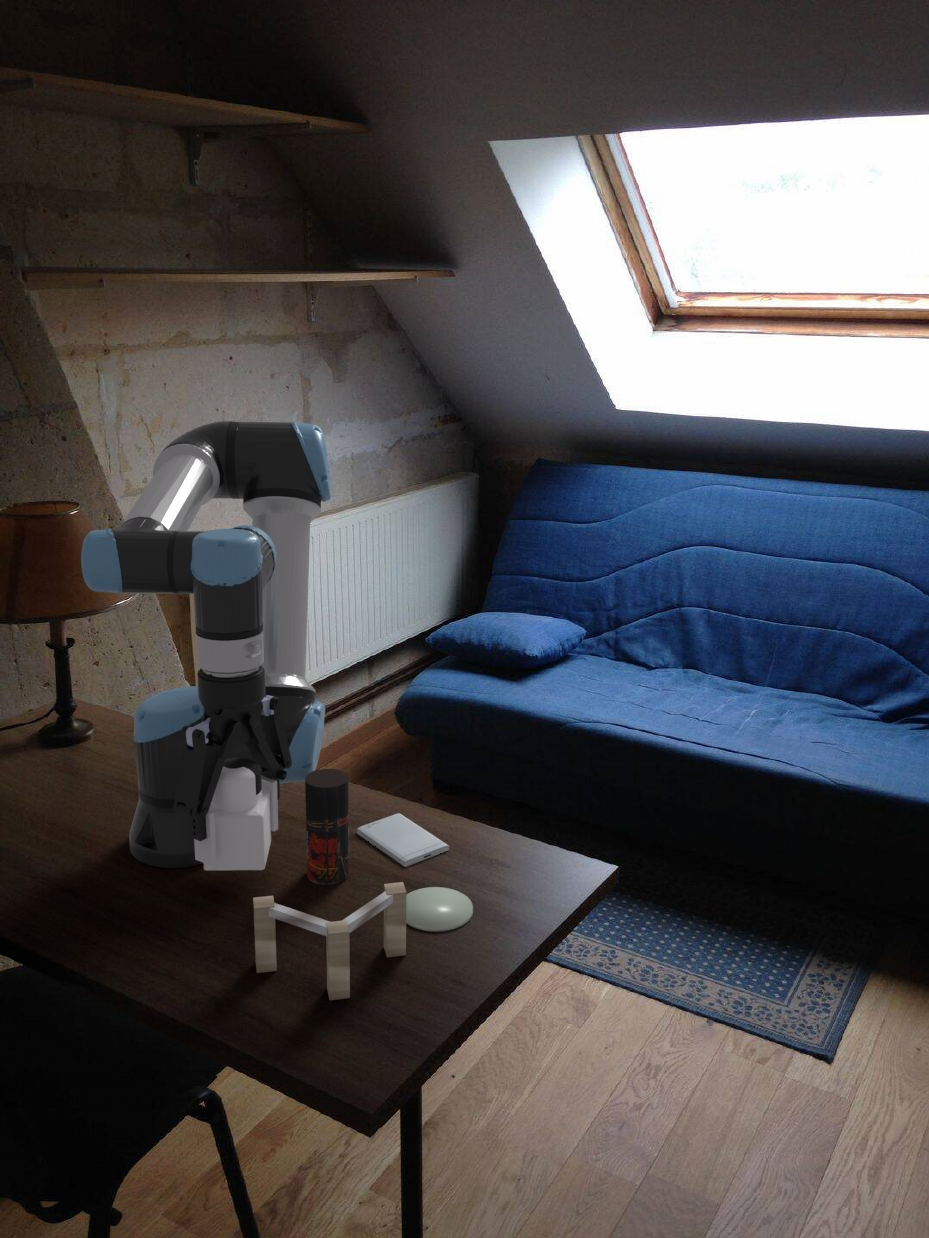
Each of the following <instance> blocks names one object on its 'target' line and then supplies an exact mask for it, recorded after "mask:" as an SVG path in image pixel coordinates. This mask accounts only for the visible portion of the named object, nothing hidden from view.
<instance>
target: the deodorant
mask: <svg viewBox="0 0 929 1238" xmlns="http://www.w3.org/2000/svg"><path fill="white" fill-rule="evenodd" d="M349 785H350V784H349V775H348V774H347V772H345V771H342V770H340V769H335V768H321V769H317V770H315V771H313V772H311V773H309V774H308V775H307V776H306V777H305V781H304V786H305V787H304V788H305V789H304V790H305V791H304V792H305V793H304V794H305V796H304V797H305V798H304V799H305V831H306V832H305V835H306V871H307V872H306V875H307V879H308V881H310V882H311V883H313V884H315V885H319V886H334V885H338V884H341V883H344V882H345V881H346V880H348V878H349V876H350V813H349V812H350V808H349V807H350V803H349V801H350V799H349V798H350V796H349V795H350V793H349V787H350V786H349Z"/></svg>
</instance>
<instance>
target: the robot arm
mask: <svg viewBox="0 0 929 1238" xmlns="http://www.w3.org/2000/svg"><path fill="white" fill-rule="evenodd" d="M327 453H328V452H327V446H326V440H325V435H324V432H323V430H322V428H321V427H320V426H318V425H317V424H313V423H305V422H304V423H303V422H302V423H301V422H295V421H293V420H292V421H290V422H283V421H282V422H277V421H276V422H275V421H274V422H273V421H272V422H271V421H232V420H231V421H230V420H223V421H215V422H210V423H206V424H203V425H200V426H197V427H195V428H193V429H191V430H188V431H187V432H185V433H183V434H181V435H180V436H178V437H176V438H174V439H173V440H172V441H170V442H169V443H168V444H167V445H166V446H165V447H164V448H163V449H162V450H161V452H160V453H159V455H158V456H157V458H156V459H155V461H154V464H153V469H152V478H151V480H150V482H148V484H147V486H146V487H145V489H144V490H143V492H142V493H141V494H140V496H139V497H138V499H137V501H136V502H135V503H134V504H133V506H132V508H131V509H130V511H129V512H128V514H127V515H126V517H125V518H124V520H123V521H122V523H121V524H120V526H119V527H118V528H117V529H115V528H114V529H112V528H110V527H109V528H108V527H107V528H106V529H94V530H91V531H89V532H88V533H87V534H86V536H85V537H84V539H83V542H82V547H81V554H80V555H81V557H80V558H81V559H80V562H81V573H82V577H83V580H84V583H85V584H86V586H87V587H88V588H89V590H91V591H93V592H97V593H99V592H100V593H112V594H113V593H115V594H117V595H122V594H181V595H182V594H183V595H184V594H185V595H193V602H194V603H193V604H194V605H193V606H194V621H195V653H196V666H197V667H198V668H199V670H198V671H197V673H196V674H197V675H196V677H197V685H193V686H192V685H191V686H183V687H177V688H176V687H175V688H172V689H167V690H164V691H162V692H158V693H157V694H154V695H151V696H150V697H147V698H146V699H145V700H144V701H142V702H141V703H139V705H138V706H137V708H136V709H135V712H134V714H133V715H134V716H133V726H134V727H133V730H134V732H133V734H132V739H133V742H134V750H135V753H134V754H135V765H136V775H137V777H136V778H137V787H138V788H137V789H138V801H137V805H136V808H135V812H134V815H133V819H132V822H131V825H130V829H129V835H128V836H129V837H128V838H129V839H128V840H129V851H130V854H131V855H132V856H133V857H134V858H135V859H136V860H137V861H138V862H140V863H142V864H145V865H148V866H151V867H156V868H163V869H164V868H165V869H181V868H183V869H184V868H189V867H190V868H191V867H195V866H199V865H203V863H205V864H208V865H210V866H213V865H215V864H217V858H216V836H215V814H214V812H212V811H209V808H210V805H211V802H212V799H213V796H214V793H215V790H216V786H217V783H218V780H219V777H220V774H221V771H222V768H223V765H224V762H225V759H229V758H246V759H250V760H253V761H255V762H257V763H258V764H259V765H260V767H261V781H262V790H268V791H269V792H270V816H271V832H276V831H278V830H279V808H278V807H279V805H278V804H279V803H278V801H279V800H280V796H281V786H280V785H283V784H284V783H303V782H304V783H305V777H306V776H307V775H308V774H309V773H311V772H313V771H316V769H317V766H318V763H319V758H320V754H321V749H322V743H323V736H324V731H325V730H324V728H325V716H326V706H325V704H324V703H323V702H321V701H319V700H316V689H315V688H314V687H313V686H312V684H310V683H309V682H308V680H307V679H306V672H307V671H306V669H307V667H306V666H307V665H306V664H307V661H306V660H307V639H308V637H307V635H308V609H309V608H308V604H309V603H308V602H309V601H308V599H309V578H310V577H309V572H310V568H309V567H310V540H311V539H310V538H311V536H310V535H311V523H312V521H313V520H314V519H316V518H317V517H318V516H320V514H321V512H322V502H323V503H324V502H327V501H329V500H331V498H332V492H331V491H332V486H331V476H330V467H329V460H328V458H329V457H328V454H327ZM212 499H232V500H237V499H238V500H243V501H242V510H243V511H244V512H245V513H246V514H247V515H248V516H249V517H250V518H251V520H252V524H251V525H248V524H247V525H245V524H244V525H238V526H235V527H231V528H219V529H216V528H215V529H211V530H210V529H209V530H207V531H205V530H202V531H201V530H199V531H197V530H194V531H193V530H191V531H190V530H189V529H190V527H191V525H192V524H193V521H194V520H195V518H196V516H197V514H198V513H199V511H200V508H201V507H202V506H203V505H205V504H208V503H209V502H210V501H211V500H212Z"/></svg>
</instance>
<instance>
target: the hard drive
mask: <svg viewBox="0 0 929 1238" xmlns="http://www.w3.org/2000/svg"><path fill="white" fill-rule="evenodd" d="M356 834H357V835H358V836H360V837H361V838H363V839H364V840H365V841H367V842H368V841H369V844H371V845H372V846H374V847H375V846H376V847H375V848H377V849H378V850H380V851H381V852H382V853H384V854H385V855H387V856H388V857H390V858H392V859H393V860H394V861H396V862H397V863H399V864H400V865H401V866H403V867H405V868H407V867H409V866H412V865H414V864H418V863H419V862H421V861H425V860H428V859H430V858H433V857H435V856H437V855H440V853H441V854H443V853H445V852H448V851H450V845H448V844H447V843H446V842H444V841H443V840H441V839H439V838H438V837H437V836H435V835H433V834H432V833H431V832H429V831H428V830H426V829H425V828H423V827H421V826H420V825H418V824H417V823H415V822H413V820H411V819H409V818H407V817H406V816H404V815H403V814H401V813H394V814H393V815H389V816H387V817H383V818H380V819H378V820H375V821H371V822H370V823H366V824H364V825H360V826H359V827H357V828H356Z"/></svg>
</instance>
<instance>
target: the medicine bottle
mask: <svg viewBox="0 0 929 1238" xmlns="http://www.w3.org/2000/svg"><path fill="white" fill-rule="evenodd" d="M209 811H212V812H214V814H215V836H216V858H217V864H215V865H213V866H210V865H208V864H205V863H203V864H202V865H203V866H202V867H203V870H204V871H263V870H265V869H266V864H267V860H268V857H269V852H270V847H271V845H272V844H271V843H272V831H271V816H270V792H269V791H268V790H262V781H261V767H260V765H259V764H258V763H257V762H255V761H253V760H250V759H246V758H229V759H225V762H224V765H223V768H222V771H221V774H220V777H219V780H218V783H217V786H216V790H215V793H214V796H213V799H212V802H211V805H210V808H209Z"/></svg>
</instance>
